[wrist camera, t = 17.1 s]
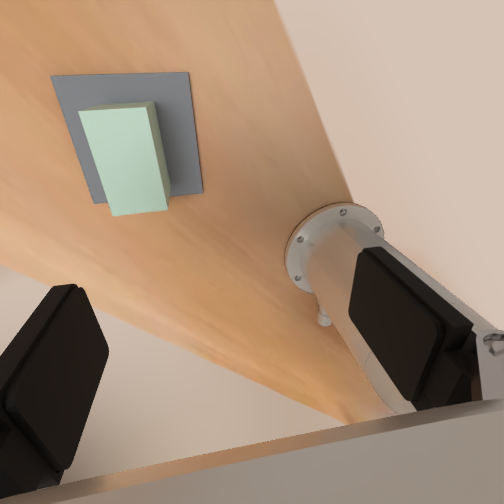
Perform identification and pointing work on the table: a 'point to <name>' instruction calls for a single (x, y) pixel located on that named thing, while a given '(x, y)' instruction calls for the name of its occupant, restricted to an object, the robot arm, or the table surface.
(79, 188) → the table surface
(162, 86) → the pad
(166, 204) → the block
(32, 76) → the table surface
